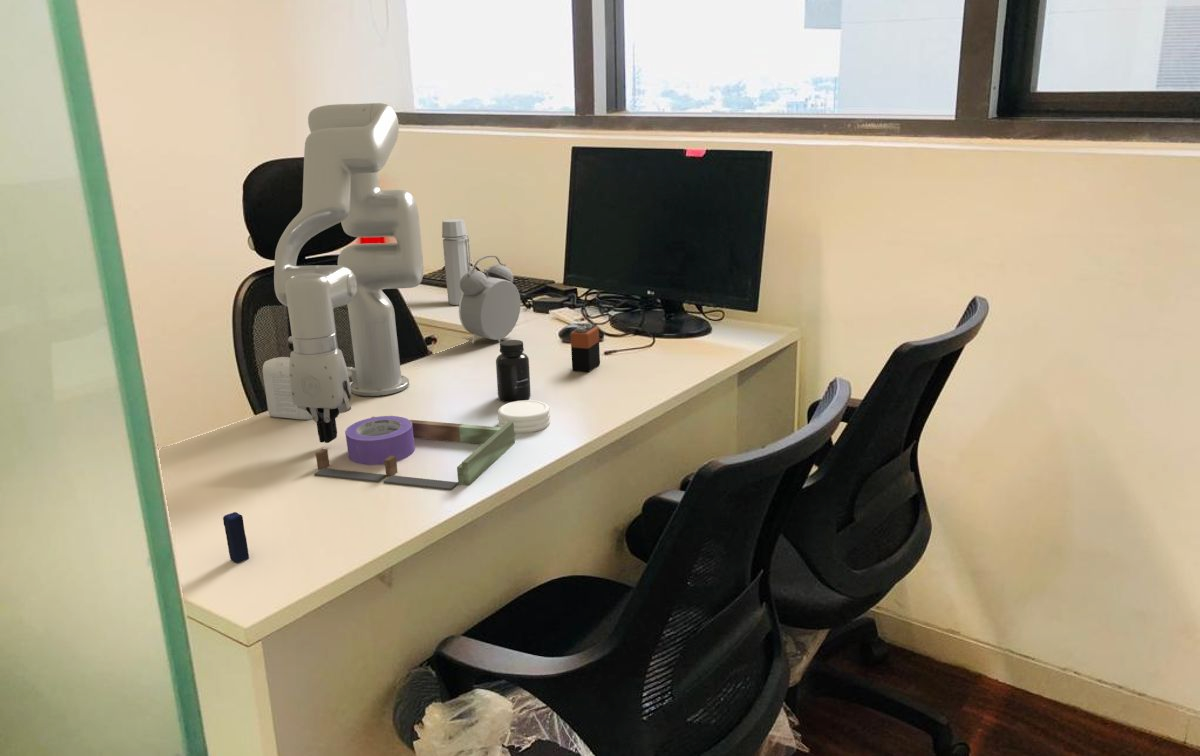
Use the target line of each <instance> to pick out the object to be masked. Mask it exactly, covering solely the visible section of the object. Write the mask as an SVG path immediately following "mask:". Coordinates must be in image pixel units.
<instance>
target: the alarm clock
mask: <svg viewBox="0 0 1200 756" xmlns="http://www.w3.org/2000/svg"><path fill="white" fill-rule="evenodd" d="M487 258H495V260H497V261H498V264H493V265H491V266H489V267H488V268H484V269H483V272H482V271H480V270H476V268H477V265H478V263H480V262H481V261H482V260H484V259H487ZM474 270H475V271H474ZM484 272H486V273H484ZM513 282H514V274H513V272H512V271H511V269H510V268H508V267H507V263H502V262H501V260H500V258H499V257H498V255H485V256H482V257H481V258H479V259H478V260H476V262H475V263H474V268H473V267H472V269H471V271H470V272H468V273H466V274H465V275H464V276H463V277H462V279H461V281H460V288H461V290H462V292H463V293H462V295H461V299H460V302H459V305H458V316H459V320H460V323H461V326H462V327H463V329H464V330H465V331H467V332H468V333H469V334H472V341H471V342H472V344H475V342H476V340H477V338H478V337H481V338H482V337H483V338H484V339H486V338H487V339H489V340H494V341H498V342H499V343H500V342H501V340H502V339H504V338H506V337H507V336H508V335H510V333H511V332H512V331H513V329H514V328H515V326H516V325H517V322H518V320H519V317H520V314H521V305H522V304H521V295H520V293H519V290H518V288H517V286H516V285H515V284H514V283H513Z"/></svg>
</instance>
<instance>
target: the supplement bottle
mask: <svg viewBox="0 0 1200 756" xmlns="http://www.w3.org/2000/svg"><path fill="white" fill-rule="evenodd" d="M524 351H525V350H524V342H523V340H519V339H508V340H507V339H506V340H502V341H500V342H499V352H500V354H499V355H498V356H497V357H496V358H495V369H496V370H495V371H496V384H497V386H496V387H497V397H498V399H499V400H500V401H501V402H505V403H510V402H515V401H523V400H528V399H530V397H531V377H530V376H531V375H530V359H529V356H528V355H527V354H526V353H524Z"/></svg>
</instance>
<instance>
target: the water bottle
mask: <svg viewBox="0 0 1200 756" xmlns="http://www.w3.org/2000/svg"><path fill="white" fill-rule="evenodd" d="M441 222H442V224H441V233H442V234H441V237H442V247H443V257H444V259H443V260H444V269H445V280H446V281H445V282H446V293H447V301H448V304H449V305H452V306H456V307H459V302H460V299H461V295H462V293H463V292H462V290H461V288H460V281H461V279H462V277H463V276H464V275H465V274H466V273H468V272H470V271H472V269H473V268H474V265H475V263H474V260H473V253H472V249H471V243H470V240H471V236H469V235H467V228H466V223H465V219H463V218H449V219H444V220H442V221H441ZM471 266H472V268H471ZM474 271H476V269H475V270H474Z"/></svg>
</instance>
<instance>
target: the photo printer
mask: <svg viewBox="0 0 1200 756" xmlns="http://www.w3.org/2000/svg"><path fill="white" fill-rule="evenodd" d="M289 363H290V357H289V356H279V357H278V356H277V357H273V358H270V359H268V360H266V361H264V363H263V365H262V376H263V377H262V378H263V384H264V391H265V397H266V406H267V412H268V415H269V416H270V417H273V418H285V419H295V420H306V421H307V420H309V421H310V419H311V420H313V418H312V416H311V414H310V413H309V412H308V411H307V410H303V409H300V408H298V407H297V405H295V404H294V403H293V402H292V398H291V391H290V379H289Z"/></svg>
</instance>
